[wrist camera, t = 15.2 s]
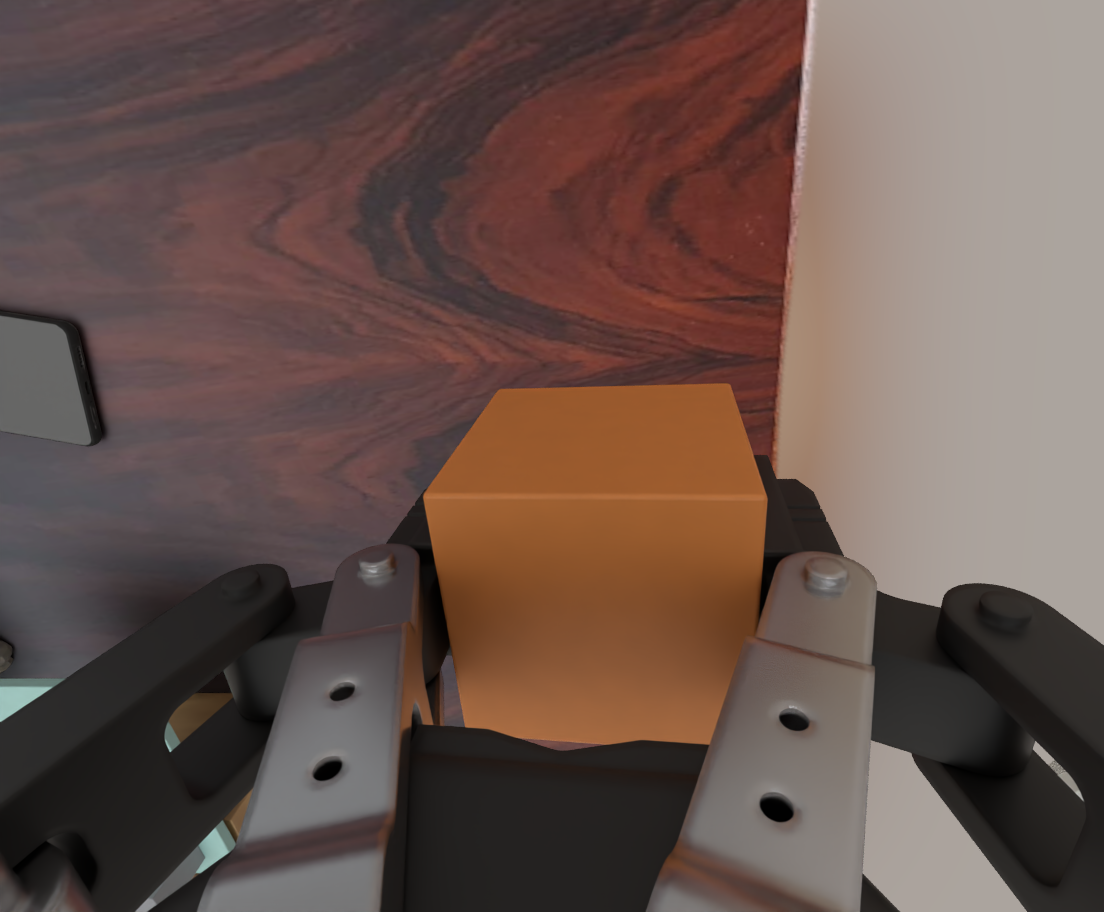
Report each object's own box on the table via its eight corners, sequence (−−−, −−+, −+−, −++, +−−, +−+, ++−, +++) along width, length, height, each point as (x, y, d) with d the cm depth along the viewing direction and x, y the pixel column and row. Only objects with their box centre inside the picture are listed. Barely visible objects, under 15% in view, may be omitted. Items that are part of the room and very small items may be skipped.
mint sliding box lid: (145, 677, 28) (79, 743, 25) (254, 876, 34) (213, 950, 31) (-66, 677, 31) (-150, 738, 28) (69, 863, 37) (13, 931, 33)
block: (722, 580, 14) (749, 756, 10) (520, 575, 15) (465, 735, 10) (730, 381, 12) (769, 495, 8) (497, 387, 13) (420, 494, 9)
